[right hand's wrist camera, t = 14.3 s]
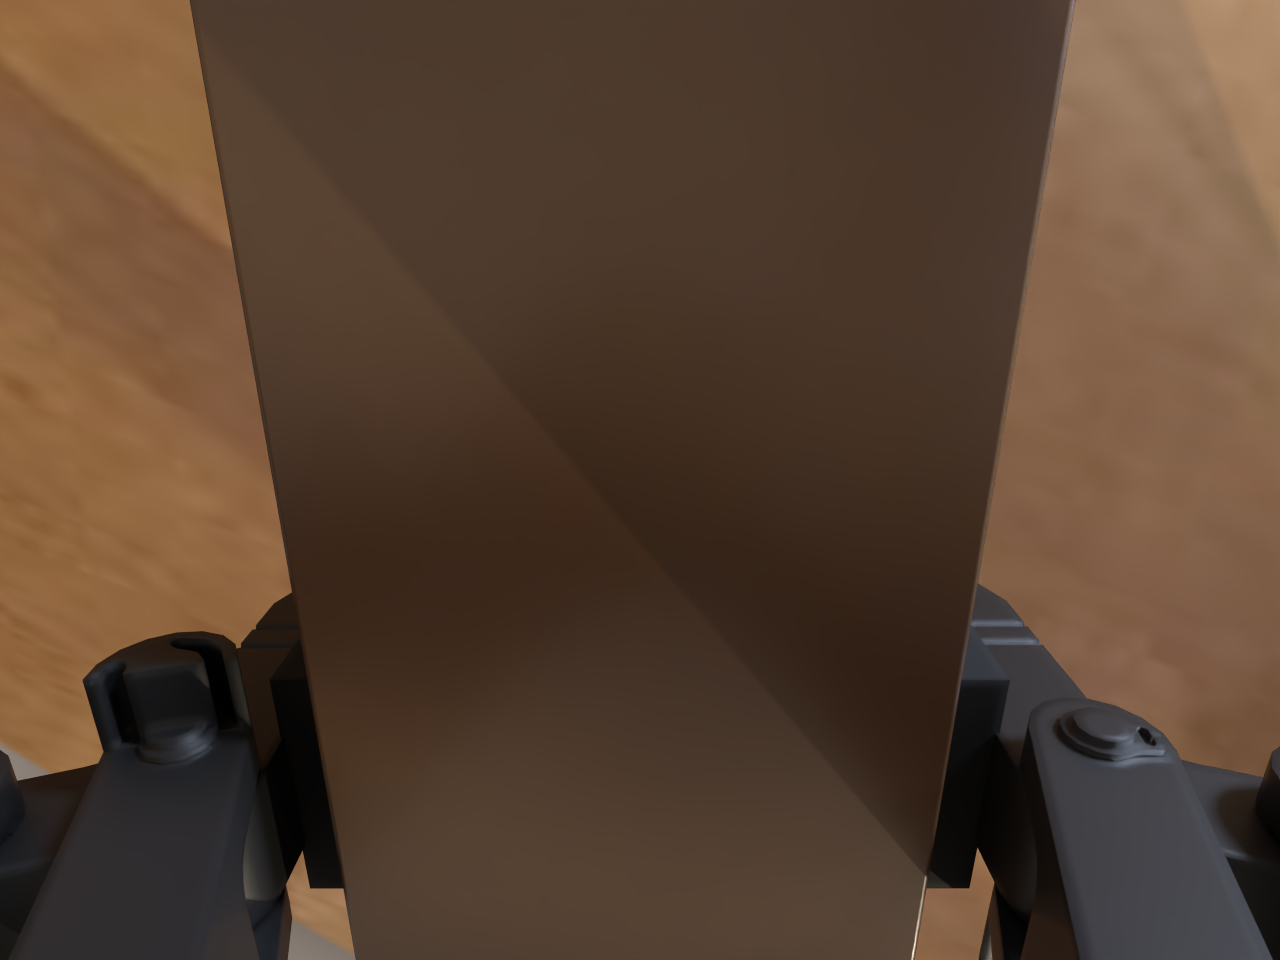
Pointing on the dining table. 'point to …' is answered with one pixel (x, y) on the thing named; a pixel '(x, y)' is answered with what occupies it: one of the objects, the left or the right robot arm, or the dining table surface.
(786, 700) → the bar
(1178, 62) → the dining table surface
